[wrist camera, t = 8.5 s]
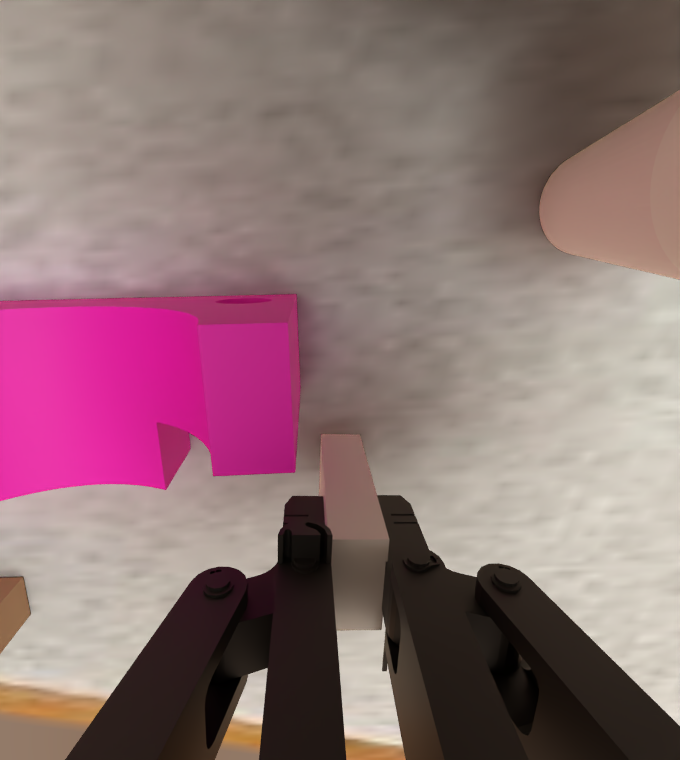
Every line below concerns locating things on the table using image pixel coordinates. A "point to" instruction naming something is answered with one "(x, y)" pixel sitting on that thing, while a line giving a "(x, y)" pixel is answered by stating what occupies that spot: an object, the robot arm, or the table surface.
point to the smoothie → (622, 195)
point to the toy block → (145, 389)
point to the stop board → (12, 608)
